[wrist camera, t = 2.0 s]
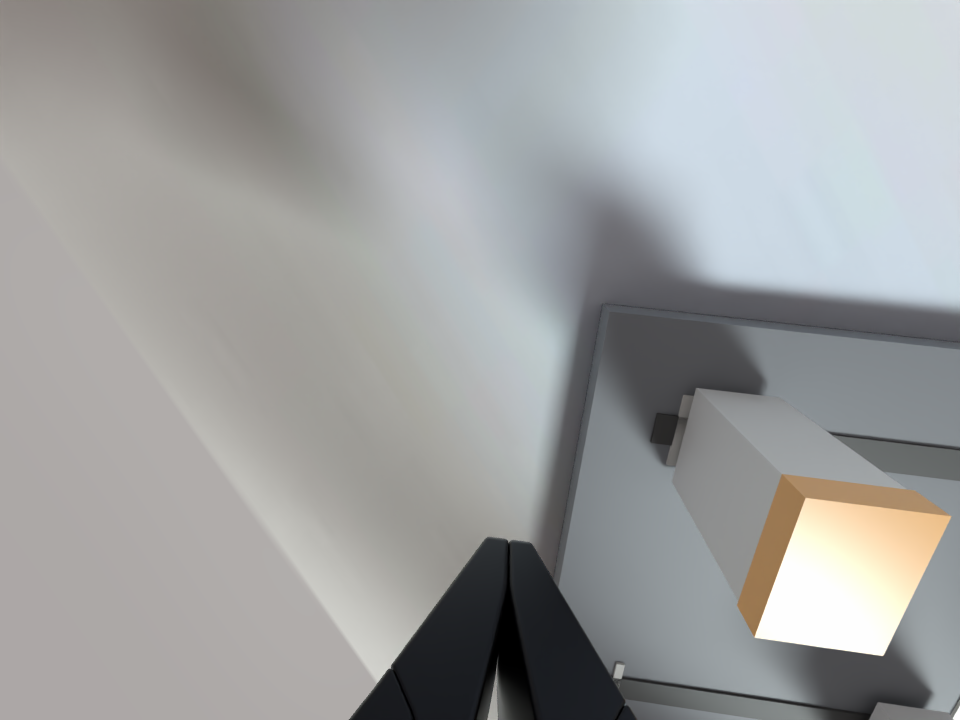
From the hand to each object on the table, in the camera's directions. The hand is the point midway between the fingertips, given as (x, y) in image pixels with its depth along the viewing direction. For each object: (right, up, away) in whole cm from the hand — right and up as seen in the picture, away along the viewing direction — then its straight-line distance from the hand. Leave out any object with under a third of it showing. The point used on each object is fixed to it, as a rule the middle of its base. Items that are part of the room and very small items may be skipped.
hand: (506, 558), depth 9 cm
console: (+12, -4, +8) cm, 15 cm away
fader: (+7, +1, +5) cm, 9 cm away
